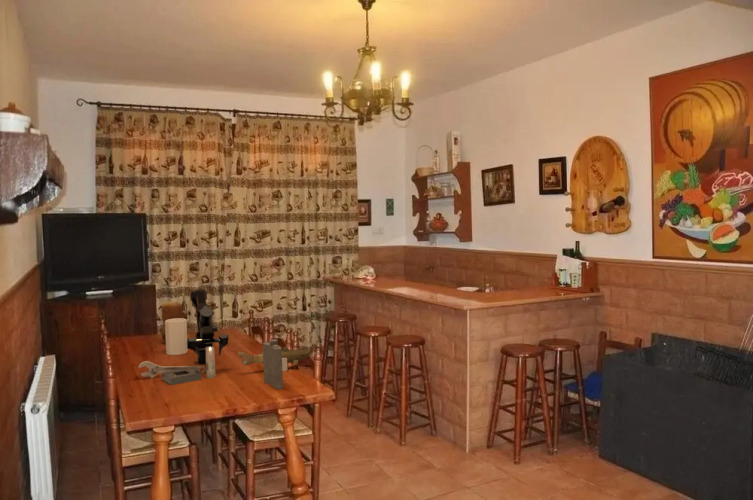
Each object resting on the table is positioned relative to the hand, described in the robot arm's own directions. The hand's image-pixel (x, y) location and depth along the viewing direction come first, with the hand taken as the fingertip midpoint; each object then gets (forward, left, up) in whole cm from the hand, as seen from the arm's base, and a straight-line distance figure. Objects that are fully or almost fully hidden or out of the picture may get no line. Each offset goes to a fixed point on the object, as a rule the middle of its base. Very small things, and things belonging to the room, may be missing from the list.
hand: (209, 356), depth 277 cm
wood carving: (+12, +28, -9) cm, 31 cm away
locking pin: (+2, 0, -9) cm, 9 cm away
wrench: (-13, -13, -10) cm, 21 cm away
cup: (-59, +5, -9) cm, 60 cm away
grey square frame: (-3, -12, -9) cm, 16 cm away
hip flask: (+34, +16, -10) cm, 38 cm away
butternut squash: (-88, +13, -9) cm, 90 cm away
